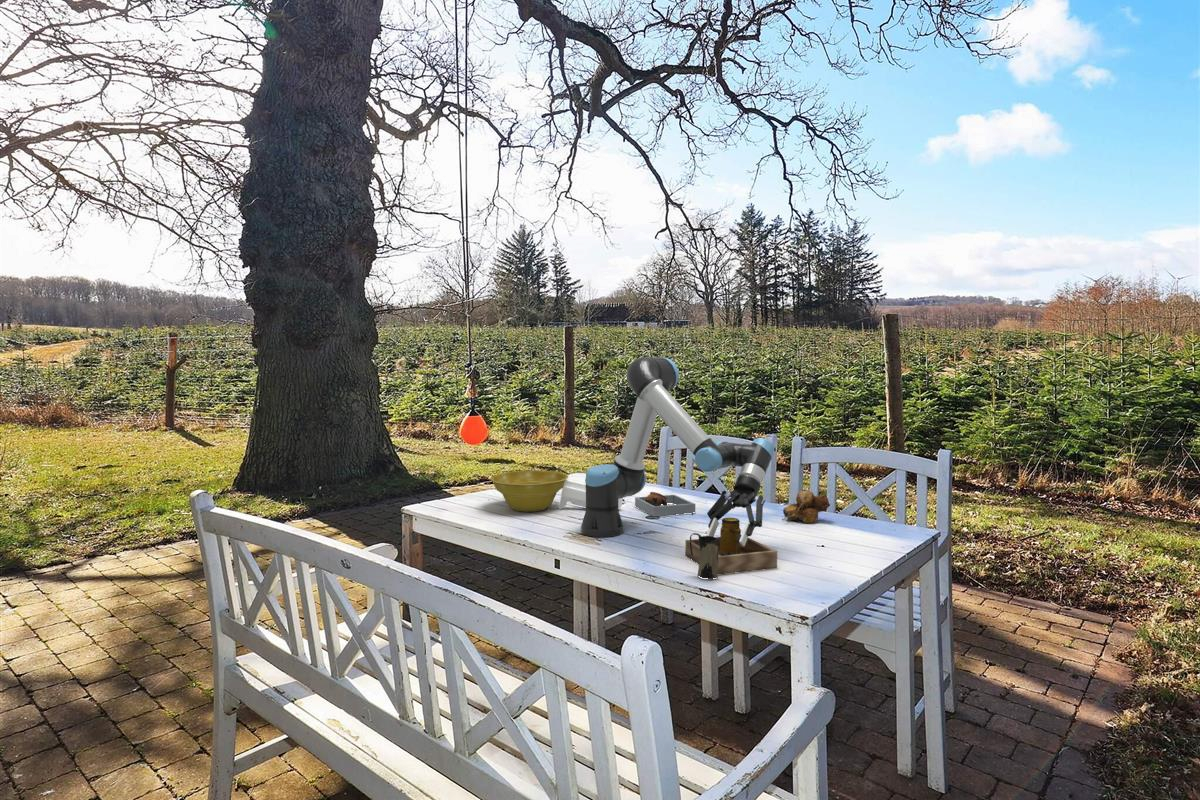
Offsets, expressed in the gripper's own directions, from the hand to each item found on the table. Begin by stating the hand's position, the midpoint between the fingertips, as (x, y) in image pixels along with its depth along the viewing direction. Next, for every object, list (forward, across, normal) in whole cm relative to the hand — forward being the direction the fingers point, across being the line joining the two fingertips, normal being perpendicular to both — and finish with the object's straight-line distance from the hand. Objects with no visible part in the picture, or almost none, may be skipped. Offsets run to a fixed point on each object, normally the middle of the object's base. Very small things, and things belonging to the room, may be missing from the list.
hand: (725, 541), depth 201 cm
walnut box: (+3, 0, -7) cm, 8 cm away
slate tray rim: (-31, +55, -41) cm, 75 cm away
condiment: (+2, -1, -7) cm, 7 cm away
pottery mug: (-30, +58, -40) cm, 77 cm away
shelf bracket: (-18, +80, -29) cm, 87 cm away
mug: (+15, -1, +5) cm, 16 cm away
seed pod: (-42, +3, -53) cm, 68 cm away
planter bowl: (-9, +101, -19) cm, 103 cm away
